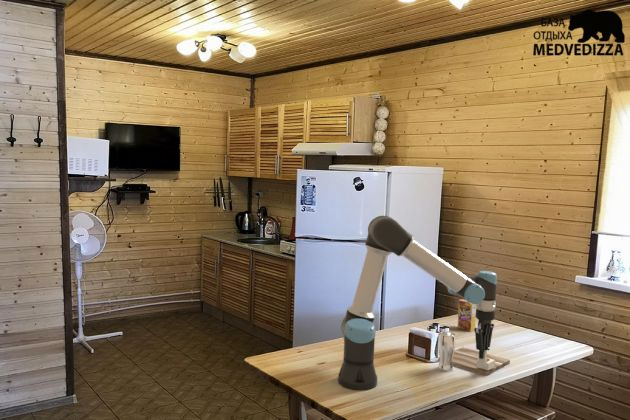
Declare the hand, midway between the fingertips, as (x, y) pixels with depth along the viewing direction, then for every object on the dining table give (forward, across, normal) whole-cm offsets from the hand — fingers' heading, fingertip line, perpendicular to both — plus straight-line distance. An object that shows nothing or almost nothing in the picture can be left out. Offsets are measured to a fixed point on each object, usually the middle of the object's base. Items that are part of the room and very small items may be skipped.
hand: (482, 365), depth 218 cm
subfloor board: (+4, +11, +9) cm, 14 cm away
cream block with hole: (+2, +4, 0) cm, 4 cm away
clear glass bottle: (+4, -6, +13) cm, 15 cm away
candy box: (+4, +54, +36) cm, 66 cm away
